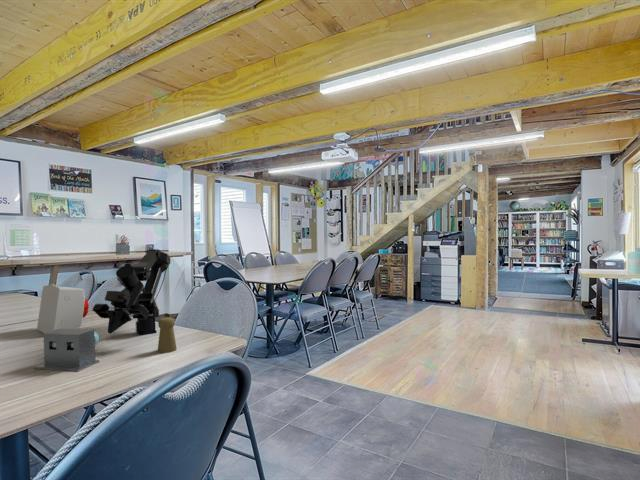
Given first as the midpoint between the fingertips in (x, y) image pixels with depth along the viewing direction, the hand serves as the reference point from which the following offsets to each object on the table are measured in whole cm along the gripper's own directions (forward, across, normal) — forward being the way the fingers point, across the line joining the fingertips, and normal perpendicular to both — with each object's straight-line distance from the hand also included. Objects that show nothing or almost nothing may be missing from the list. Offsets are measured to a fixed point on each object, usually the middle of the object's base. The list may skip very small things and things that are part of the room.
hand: (109, 332), depth 126 cm
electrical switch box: (-12, -40, +22) cm, 48 cm away
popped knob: (+9, 0, -7) cm, 11 cm away
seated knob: (+9, -6, -7) cm, 13 cm away
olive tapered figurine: (+2, +19, +7) cm, 20 cm away
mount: (+14, -3, -5) cm, 15 cm away
